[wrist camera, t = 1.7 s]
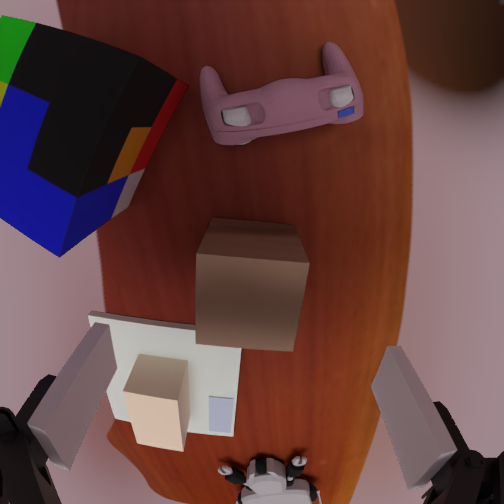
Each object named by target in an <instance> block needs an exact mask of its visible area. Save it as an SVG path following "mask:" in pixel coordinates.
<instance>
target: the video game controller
mask: <svg viewBox="0 0 504 504" xmlns="http://www.w3.org/2000/svg"><path fill="white" fill-rule="evenodd" d="M322 54H323V66H324V71H325V76H320V77H315V78H310V79H301V78H286V79H280V80H277V81H274V82H272V83H269V84H267V85H265V86H263V87H261V88H259V89H254V90H248V91H243V92H239V93H235V94H231V95H228V94H227V92H226V91H225V89H224V87H223V85H222V82H221V80H220V78H219V75H218V73H217V72H216V71H215V70H214V69H213V68H212V67H210V66H205V67H203V69H202V70H201V72H200V78H199V80H200V92H201V103H202V108H203V111H204V114H205V118H206V121H207V124H208V126H209V129H210V132H211V134H212V137H213V139H214V141H215V142H216V143H218V144H222V145H243V144H247V143H248V142H250V141H252V140H254V139H256V138H258V137H263V136H271V135H278V134H283V133H289V132H294V131H299V130H304V129H308V128H313V127H317V126H320V125H324V124H346V123H350V122H353V121H356V120H358V119H360V118H361V117H362V116H363V93H362V90H361V87H360V84H359V81H358V79H357V77H356V75H355V73H354V71H353V69H352V67H351V65H350V63H349V62H348V60H347V58H346V57H345V55H344V53H343V52H342V50H341V49H340V47H339V46H337V45H336V44H334V43H333V42H326V43H325V44H324V45H323V49H322Z"/></svg>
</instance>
